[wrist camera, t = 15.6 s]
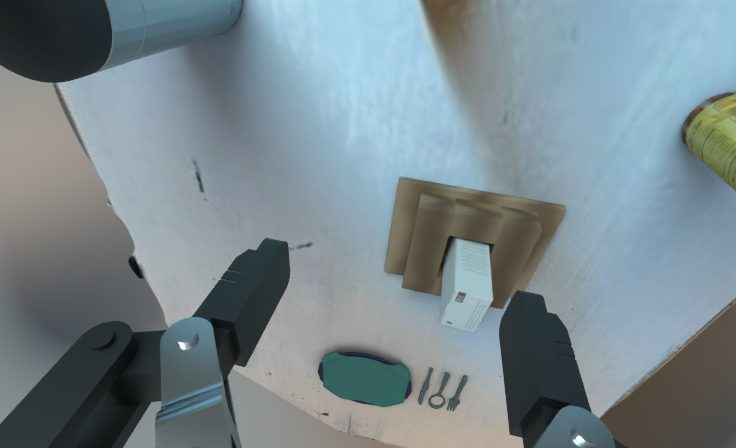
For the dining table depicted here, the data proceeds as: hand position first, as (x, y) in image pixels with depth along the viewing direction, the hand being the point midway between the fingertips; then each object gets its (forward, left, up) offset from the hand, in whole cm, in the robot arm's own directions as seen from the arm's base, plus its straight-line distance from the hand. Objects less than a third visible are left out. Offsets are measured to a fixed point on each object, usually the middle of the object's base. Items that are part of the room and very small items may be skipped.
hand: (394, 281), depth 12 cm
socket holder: (+8, -21, -30) cm, 38 cm away
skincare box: (+8, -21, -29) cm, 37 cm away
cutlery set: (+3, -61, -31) cm, 69 cm away
